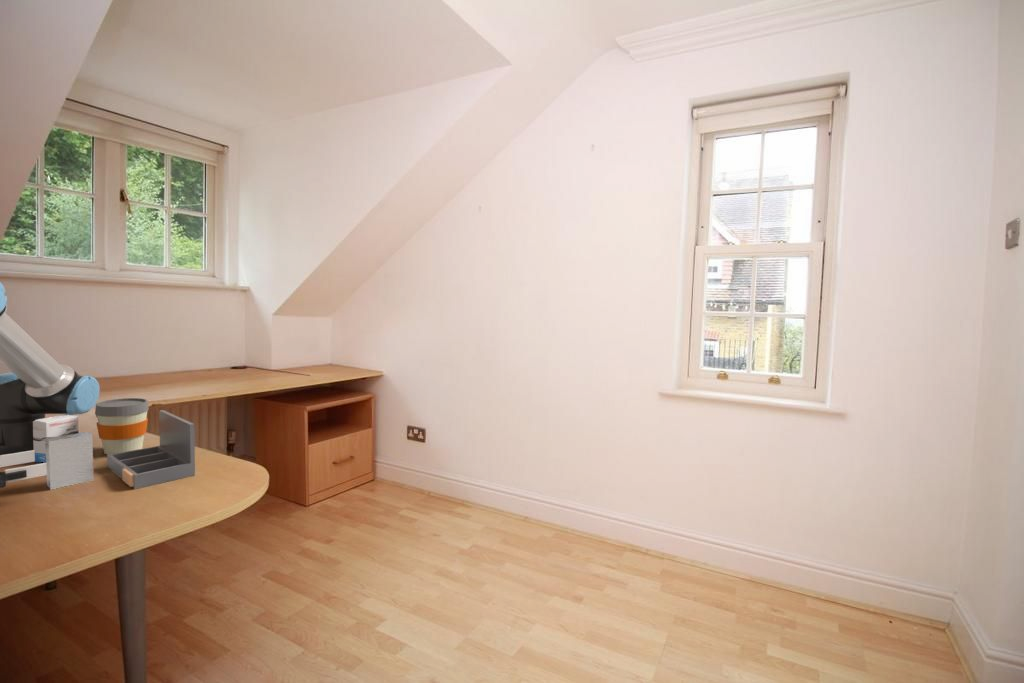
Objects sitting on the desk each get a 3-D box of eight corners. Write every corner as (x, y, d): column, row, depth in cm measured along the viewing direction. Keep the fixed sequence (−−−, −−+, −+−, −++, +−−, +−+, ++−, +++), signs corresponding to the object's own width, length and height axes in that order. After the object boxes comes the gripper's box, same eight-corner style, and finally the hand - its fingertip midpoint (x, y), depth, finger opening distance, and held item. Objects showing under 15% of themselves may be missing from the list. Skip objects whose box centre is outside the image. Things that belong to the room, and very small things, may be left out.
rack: (104, 468, 130) (103, 417, 129) (164, 456, 141) (163, 410, 140) (131, 489, 117) (130, 433, 116) (194, 475, 128) (194, 424, 127)
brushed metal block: (46, 485, 117) (45, 438, 116) (89, 477, 124) (88, 431, 123) (50, 490, 115) (48, 441, 114) (93, 481, 121) (92, 434, 120)
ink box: (46, 464, 132) (45, 422, 131) (32, 462, 133) (31, 420, 132) (80, 454, 140) (79, 415, 139) (67, 453, 141) (65, 413, 140)
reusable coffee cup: (115, 460, 137) (113, 409, 135) (85, 454, 141) (84, 404, 139) (159, 448, 149) (158, 400, 147) (131, 442, 153) (130, 396, 151)
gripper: (-105, 488, 105) (30, 465, 122) (-102, 523, 90) (52, 491, 107) (-107, 455, 104) (29, 436, 121) (-105, 485, 90) (50, 458, 107)
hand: (40, 462), depth 114 cm, fingers open, 13 cm apart
